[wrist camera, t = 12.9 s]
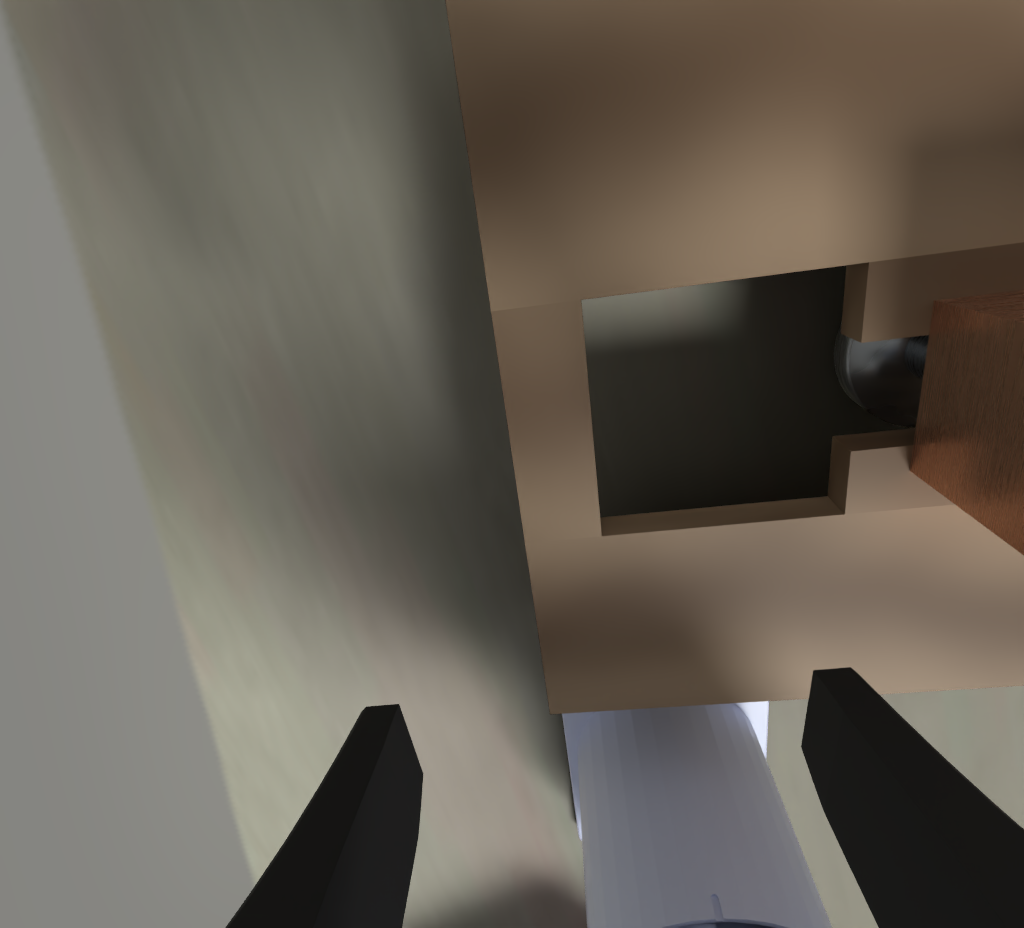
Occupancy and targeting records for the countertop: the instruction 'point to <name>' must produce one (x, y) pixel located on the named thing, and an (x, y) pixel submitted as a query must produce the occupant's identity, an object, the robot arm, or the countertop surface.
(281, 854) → the robot arm
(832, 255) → the keyhole board
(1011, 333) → the brown piece
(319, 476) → the countertop surface
